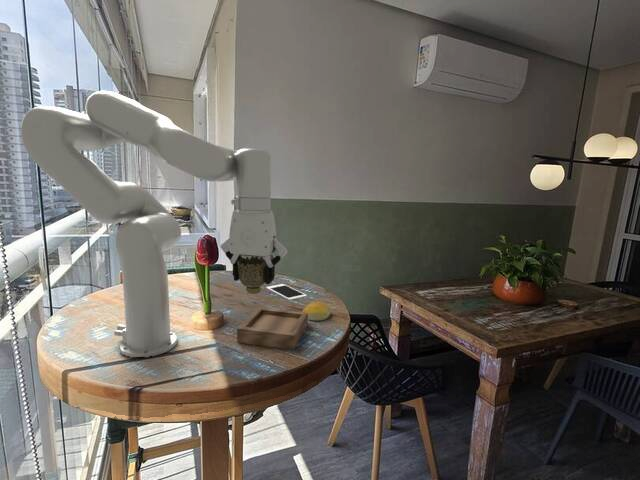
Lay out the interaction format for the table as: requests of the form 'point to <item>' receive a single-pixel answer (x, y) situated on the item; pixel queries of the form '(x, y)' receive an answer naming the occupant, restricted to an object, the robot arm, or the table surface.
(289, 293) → the cell phone
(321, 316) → the bread roll
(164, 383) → the table surface
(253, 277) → the cup
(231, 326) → the table surface
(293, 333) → the walnut tray
